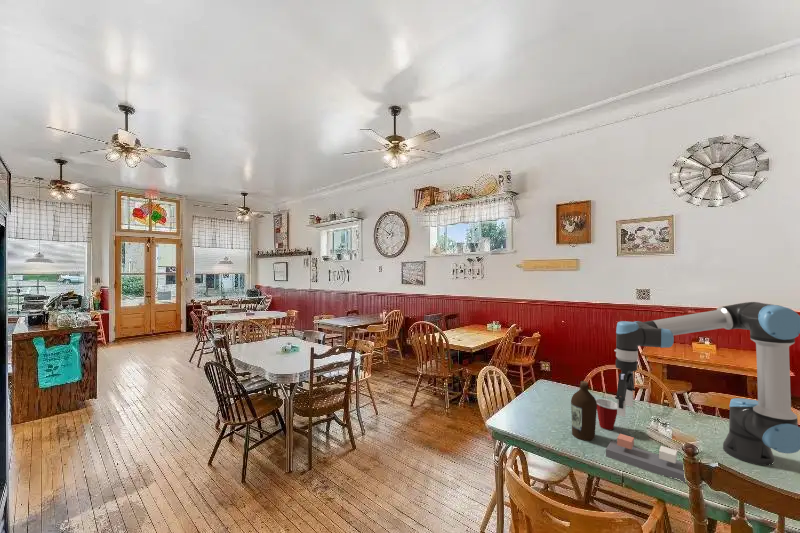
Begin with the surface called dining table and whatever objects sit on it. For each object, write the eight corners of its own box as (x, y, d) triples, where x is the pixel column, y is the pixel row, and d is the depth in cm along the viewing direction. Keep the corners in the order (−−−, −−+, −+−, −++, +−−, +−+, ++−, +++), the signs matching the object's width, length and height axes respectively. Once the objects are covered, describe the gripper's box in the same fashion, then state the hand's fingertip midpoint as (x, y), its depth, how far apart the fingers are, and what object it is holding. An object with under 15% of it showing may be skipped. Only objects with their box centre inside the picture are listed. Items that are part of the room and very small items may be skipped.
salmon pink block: (633, 444, 146) (634, 437, 146) (631, 449, 142) (631, 442, 142) (619, 440, 149) (619, 433, 149) (617, 445, 145) (617, 437, 145)
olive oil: (585, 429, 169) (586, 377, 169) (601, 440, 159) (602, 385, 158) (565, 431, 167) (566, 378, 167) (581, 442, 157) (582, 386, 156)
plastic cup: (621, 434, 164) (622, 409, 164) (594, 429, 169) (595, 404, 169) (618, 424, 174) (619, 400, 174) (593, 420, 179) (594, 396, 178)
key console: (688, 471, 136) (688, 464, 136) (686, 483, 128) (686, 475, 128) (611, 446, 153) (611, 440, 153) (605, 456, 146) (605, 449, 146)
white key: (676, 458, 136) (677, 450, 136) (675, 463, 132) (675, 455, 132) (660, 453, 140) (660, 445, 139) (658, 458, 136) (659, 450, 136)
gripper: (622, 352, 157) (621, 399, 158) (608, 363, 139) (606, 417, 140) (643, 355, 152) (641, 404, 152) (630, 368, 134) (628, 423, 134)
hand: (625, 410), depth 146 cm, fingers open, 13 cm apart
